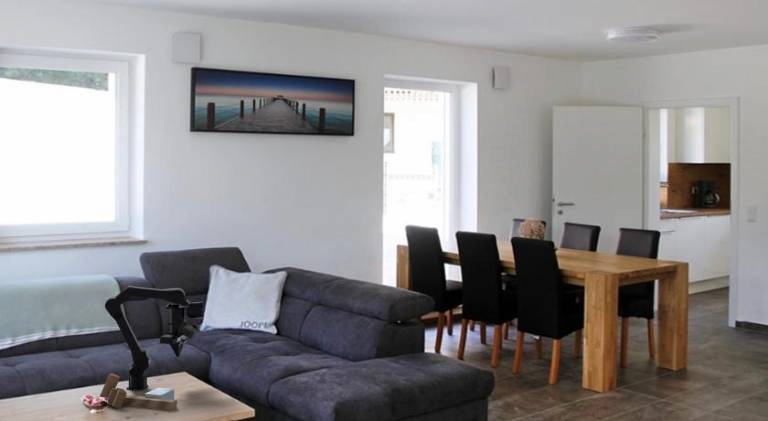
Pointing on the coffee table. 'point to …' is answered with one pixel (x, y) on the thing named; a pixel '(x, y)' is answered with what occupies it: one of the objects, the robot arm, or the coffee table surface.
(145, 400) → the brown wooden bar
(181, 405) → the coffee table surface
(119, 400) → the wooden block set
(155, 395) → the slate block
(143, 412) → the coffee table surface
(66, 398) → the coffee table surface
